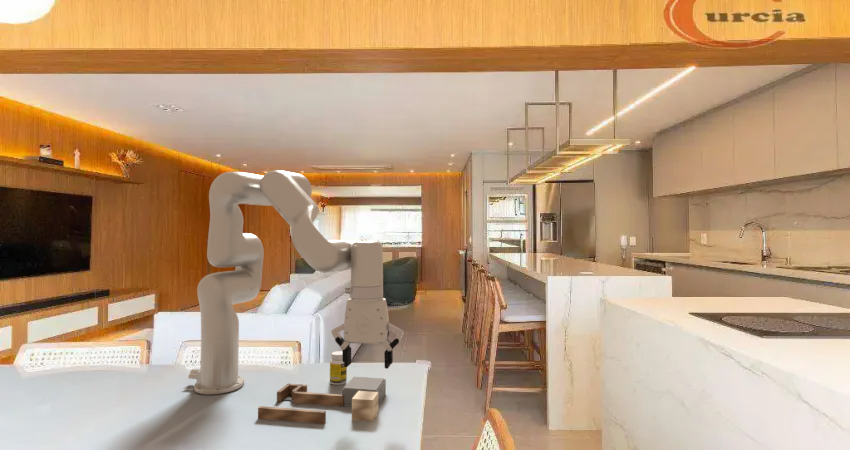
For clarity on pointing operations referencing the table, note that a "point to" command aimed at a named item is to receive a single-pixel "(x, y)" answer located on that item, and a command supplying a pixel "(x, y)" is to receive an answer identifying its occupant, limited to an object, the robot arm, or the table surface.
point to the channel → (302, 396)
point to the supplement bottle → (337, 369)
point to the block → (365, 406)
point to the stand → (363, 388)
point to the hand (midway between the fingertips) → (367, 366)
